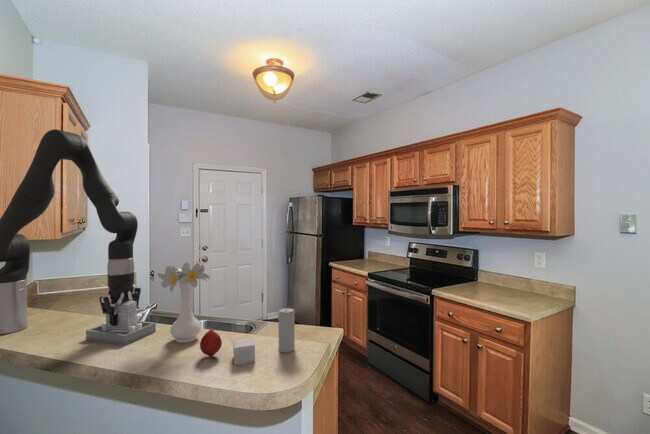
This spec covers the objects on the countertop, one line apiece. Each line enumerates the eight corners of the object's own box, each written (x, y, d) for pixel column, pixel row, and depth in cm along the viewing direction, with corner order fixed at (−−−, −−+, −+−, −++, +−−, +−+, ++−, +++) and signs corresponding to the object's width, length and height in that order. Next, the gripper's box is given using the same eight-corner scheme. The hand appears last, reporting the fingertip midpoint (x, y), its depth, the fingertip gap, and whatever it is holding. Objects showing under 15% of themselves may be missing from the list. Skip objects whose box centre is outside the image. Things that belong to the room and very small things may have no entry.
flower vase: (177, 328, 113) (176, 258, 113) (220, 336, 107) (219, 261, 106) (144, 342, 101) (144, 263, 101) (191, 352, 95) (190, 267, 94)
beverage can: (297, 347, 98) (297, 308, 98) (290, 354, 93) (290, 313, 93) (282, 345, 99) (282, 307, 99) (275, 352, 95) (275, 311, 95)
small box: (233, 356, 92) (233, 339, 92) (253, 354, 94) (253, 337, 94) (233, 366, 87) (233, 347, 86) (255, 362, 88) (255, 345, 88)
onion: (201, 362, 88) (201, 333, 88) (198, 354, 93) (198, 327, 93) (223, 358, 91) (223, 330, 91) (219, 350, 96) (219, 323, 96)
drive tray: (85, 339, 104) (85, 327, 104) (119, 326, 115) (119, 315, 115) (125, 345, 99) (125, 332, 99) (155, 331, 111) (155, 320, 111)
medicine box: (137, 326, 109) (137, 300, 109) (128, 331, 105) (127, 304, 104) (115, 325, 110) (115, 300, 110) (105, 330, 105) (105, 303, 105)
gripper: (130, 267, 115) (131, 315, 115) (91, 275, 101) (92, 329, 101) (147, 268, 113) (148, 316, 113) (110, 276, 99) (110, 331, 99)
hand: (121, 322), depth 107 cm, fingers closed on medicine box, 5 cm apart
